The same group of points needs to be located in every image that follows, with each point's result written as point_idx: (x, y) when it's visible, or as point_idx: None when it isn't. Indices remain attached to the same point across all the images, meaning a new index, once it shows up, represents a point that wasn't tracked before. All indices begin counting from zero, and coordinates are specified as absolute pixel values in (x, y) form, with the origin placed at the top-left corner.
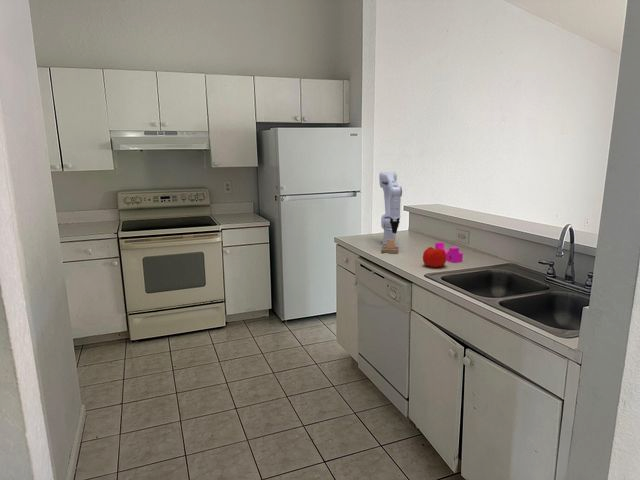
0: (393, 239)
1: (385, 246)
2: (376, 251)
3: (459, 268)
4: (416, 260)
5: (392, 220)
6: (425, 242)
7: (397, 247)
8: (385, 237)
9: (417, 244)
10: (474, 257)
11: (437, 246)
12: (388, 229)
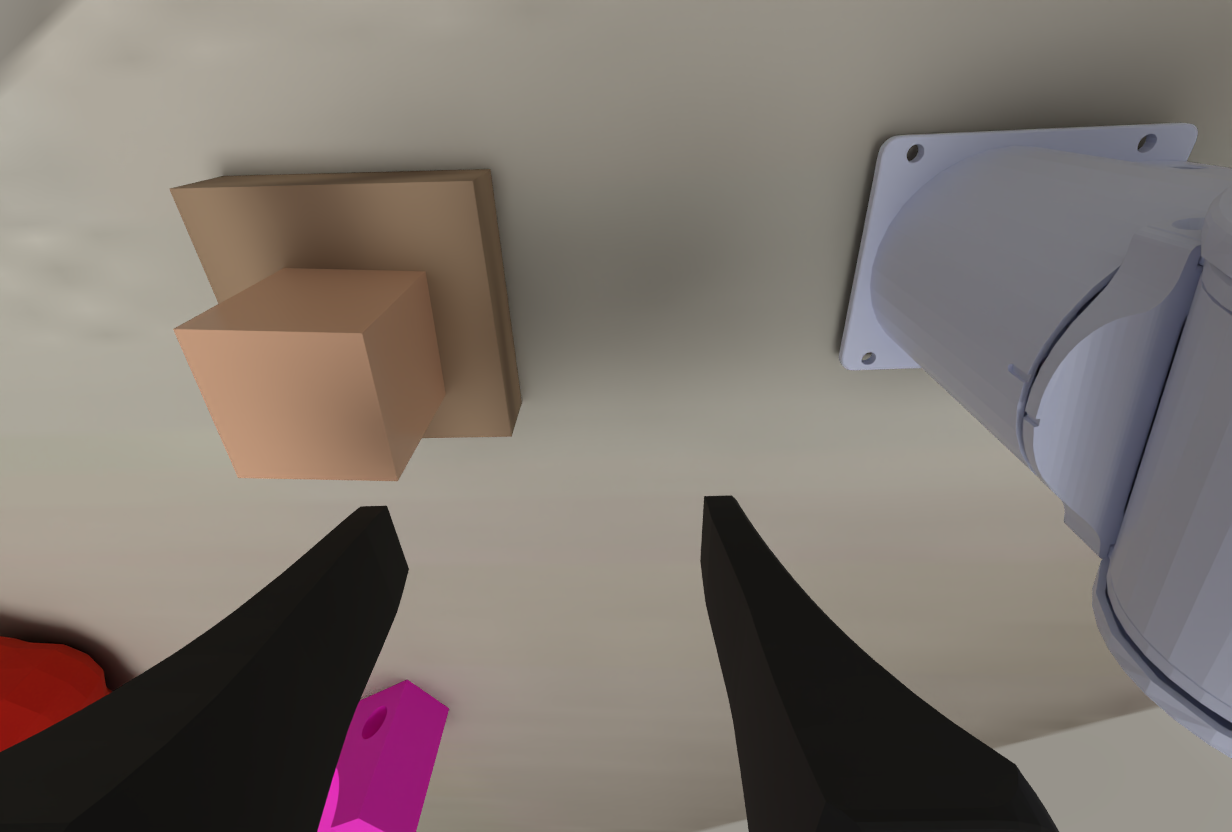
0: (297, 454)
1: (454, 239)
2: (367, 55)
3: None
4: (152, 570)
5: (790, 792)
6: (1004, 633)
7: (445, 424)
8: (982, 216)
9: (910, 575)
10: (467, 829)
11: (344, 793)
12: (1061, 360)
